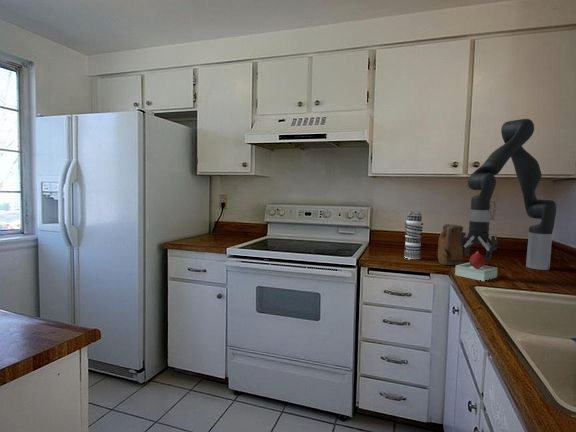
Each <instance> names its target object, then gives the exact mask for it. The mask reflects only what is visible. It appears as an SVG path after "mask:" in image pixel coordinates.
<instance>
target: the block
mask: <svg viewBox="0 0 576 432" xmlns="http://www.w3.org/2000/svg"><path fill="white" fill-rule="evenodd" d="M462 232H464V227H463V226H462V225H459V224H458V225H457V224H450V223H448V224H447V223H445V224H443V225H442V231H441V232H440V235H439V238H438V242H437V243H438V244H437V260H438V262H439V264H440V265H443V266H448V265H449V266H456V265H460V264H462V261H463V255H464V253H463V252H464V248H463V247H464V246H461V245H460V240H461V233H462Z"/></svg>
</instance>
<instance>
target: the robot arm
mask: <svg viewBox="0 0 576 432" xmlns="http://www.w3.org/2000/svg"><path fill="white" fill-rule="evenodd" d="M500 129H501V131H500V133H501V136H502V137H501V138H502V140H503V143H504V144H503V145H500V146H499V147H498V148H497V149H495V150H494V151H493V152H492V153H490V155H489V156H488V157H487V159H486V160H485V161H484V163H483V164H482V165H481V166H479V167H478V168H477V169H476V170H475V171H473V172H472V173H471V174H470V176H469V177H468V179H467V186H468V187H469V189H470V190H472V191H473V190H474V191H480V192H479V194H478V195H475V196H472V197H471V200H470V211H469V219H468V220H469V222H468V223H469V224H468V232H466V231H463V232H462V233H461V240H460V245H461V246H463V247H464V248H463V252H464V253H463V255H465V256H466V257H469V256H470V248H471V246H472V245H473V244H474V245H475V244H476V245H477V244H478V245H482V246H483V247H484V248H485V249H486V251H485V260H490V259H491V258H492V253H493V251H495V250H496V251H497V250H498V236H497V235H495V234H494V235H490V220H491V219H490V217H491V215H490V214H491V213H490V209H491V208H490V207H491V199H492V197H493V193H494V191H495V188H496V185H497V179H496V176H497V175H498V174H499V173H500V172H501V170H502V169H503V168H504V167H505V165H506V163H508V161H509V160H510V158H511V161H512V163H513V164H512V165H513V167H514V170H515V174H516V175H515V176H516V177H517V180H518V183H519V185H520V190H521V193H522V198H523V203H524V208H525V212H526V214H527V216H528V217H529V218H531V219H536V220H537V219H538V220H541V221H540V223H538V224H534V225H530V226H529V227H528V235H527V236H528V237H527V240H528V241H527V251H526V261H525V262H526V264H525V267H526V268H528V269H533V270H537V271H539V270H541V271H549V270H550V268H551V267H550V266H551V255H552V243H553V242H552V241H553V233H554V232H553V231H554V227H555V224H556V223H555V222H556V221H555V220H556V215H557V204H556V202H555V201H554V200H551V199H538V198H537V197H536V189H537V187H538V185H539V183H540V181H541V179H542V177H543V176H542V171H541V168H540V164H539V162H538V160H537V159H536V158H535V157H534V156H532V155H531V153H529V152H528V151H526V149H525V148H524V147H523V145H525V144H526V142H527V141H529V140H530V139H531V137H532V136H533V134H534V132H535V124H534V122H533V120H531V119H530V118H521V119H520V118H519V119H515V120H509V121H505V122H504V123H503V124H502V125H501V128H500ZM467 238H469V239H468V240H467ZM488 240H490V242H489V241H488Z"/></svg>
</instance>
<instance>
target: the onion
mask: <svg viewBox="0 0 576 432" xmlns="http://www.w3.org/2000/svg"><path fill="white" fill-rule="evenodd" d="M485 262H486V258H485V257H484V256H483V254H481V253H480V252H479V251H478V250H477V251H476V252H475V253H473V254H472V255H470V257H469V263H470V264H471V265H472V266H473V267H474V268H475V269H479V268H481V267H482V266H483V265H485Z"/></svg>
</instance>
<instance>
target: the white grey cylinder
mask: <svg viewBox="0 0 576 432" xmlns="http://www.w3.org/2000/svg"><path fill="white" fill-rule="evenodd" d="M422 219H423V215H422V213H421V212H419V211H409V212H408V213H407V214H406V222H404V227H405V229H404V236H405V242H404V243H405V245H404V251H403V252H404V254H403V255H404V256H403V257H405V258H408V259H407V260H410V259H420V260H421V256H422V255H421V254H422V252H421V251H422V245H421V238H422V236H423V233H422V232H423V229H424V228H423V225H424V223H423V220H422ZM405 258H404V259H405Z"/></svg>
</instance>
